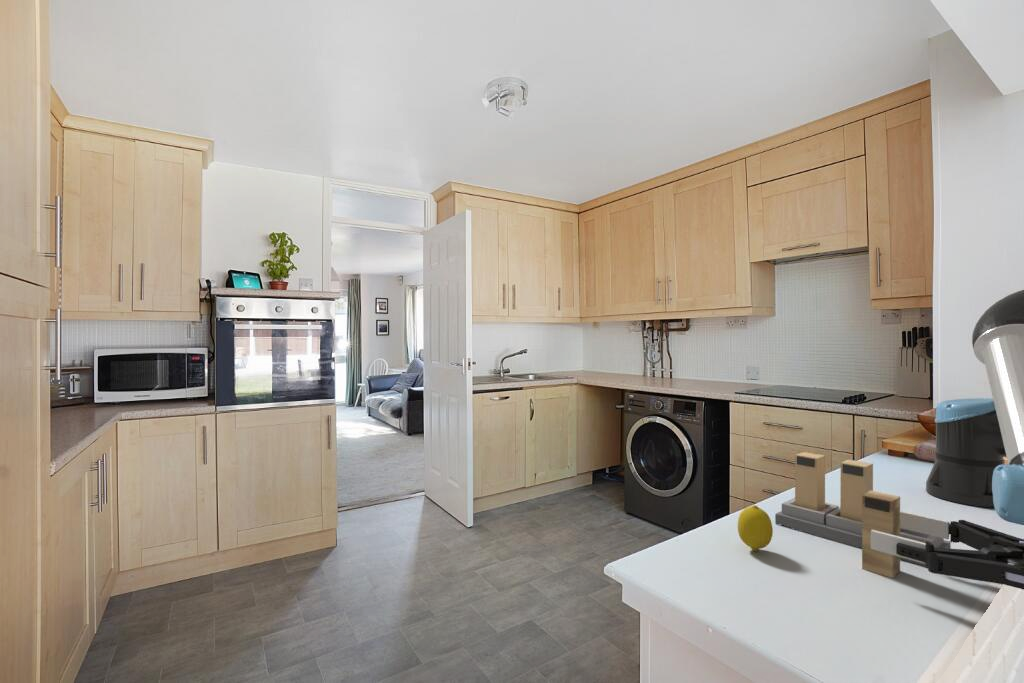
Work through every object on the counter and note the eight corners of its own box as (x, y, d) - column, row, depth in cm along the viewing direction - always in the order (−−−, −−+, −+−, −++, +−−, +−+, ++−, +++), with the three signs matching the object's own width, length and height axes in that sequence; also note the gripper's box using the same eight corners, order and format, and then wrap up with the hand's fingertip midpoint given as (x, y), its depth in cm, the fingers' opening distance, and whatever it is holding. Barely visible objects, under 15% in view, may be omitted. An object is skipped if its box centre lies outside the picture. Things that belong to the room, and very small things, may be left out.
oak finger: (870, 561, 82) (870, 490, 82) (900, 570, 79) (900, 496, 79) (861, 569, 79) (861, 495, 79) (891, 578, 76) (892, 501, 76)
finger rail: (796, 512, 105) (796, 447, 105) (950, 553, 85) (950, 472, 85) (775, 523, 99) (775, 454, 99) (936, 569, 79) (936, 483, 79)
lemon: (769, 546, 88) (769, 502, 88) (775, 559, 83) (775, 512, 83) (735, 542, 90) (736, 498, 90) (739, 555, 84) (739, 508, 84)
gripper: (1085, 647, 54) (858, 575, 70) (1094, 578, 69) (907, 532, 86) (1085, 579, 54) (858, 523, 70) (1094, 526, 69) (907, 490, 86)
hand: (884, 528), depth 78 cm, fingers open, 13 cm apart
